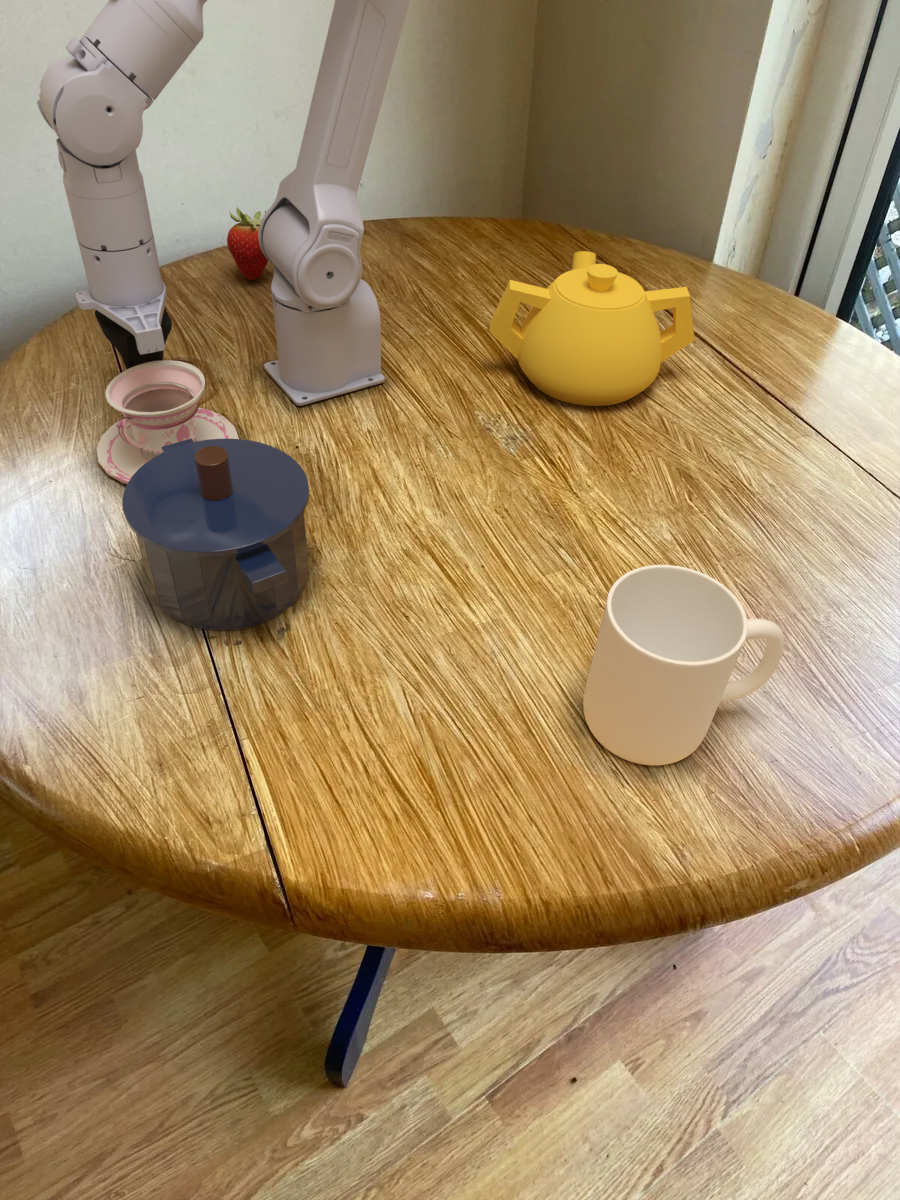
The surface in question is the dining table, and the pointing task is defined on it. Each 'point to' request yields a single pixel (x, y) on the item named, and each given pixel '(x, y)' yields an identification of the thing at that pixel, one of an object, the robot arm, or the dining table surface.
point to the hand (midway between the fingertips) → (148, 387)
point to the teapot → (592, 332)
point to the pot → (229, 580)
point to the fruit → (247, 245)
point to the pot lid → (215, 497)
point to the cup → (669, 662)
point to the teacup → (156, 415)
